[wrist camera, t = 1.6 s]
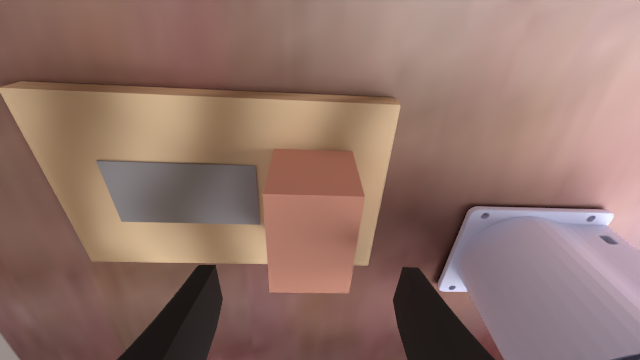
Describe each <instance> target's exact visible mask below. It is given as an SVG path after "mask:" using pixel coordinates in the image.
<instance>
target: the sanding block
mask: <svg viewBox="0 0 640 360" xmlns="http://www.w3.org/2000/svg"><path fill="white" fill-rule="evenodd" d="M364 200H365V195H364V191H363V188H362V184H361V180H360V177H359V173H358V169H357V166H356V162H355V158H354V155H353V151H328V150H299V149H274V151H273V155H272V159H271V163H270V167H269V171H268V175H267V179H266V183H265V187H264V191H263V206H264V220H265V235H266V249H267V264H268V278H269V292H276V293H349V290H350V284H351V278H352V272H353V266H354V260H355V254H356V248H357V242H358V236H359V230H360V224H361V218H362V212H363V206H364Z"/></svg>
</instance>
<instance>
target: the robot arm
mask: <svg viewBox="0 0 640 360" xmlns="http://www.w3.org/2000/svg"><path fill="white" fill-rule="evenodd" d="M484 213H485V214H484ZM482 214H484V215H482ZM613 217H614V214H613V213H611V212H610V211H609V210H601V209H563V208H524V207H485V206H476V207H472V208H471V209H469V210H468V212H467V214H466V216H465V219H464V221H463V224H462V226H461V229H460V231H459V233H458V236H457V238H456V241H455V243H454V245H453V248H452V250H451V253H450V255H449V257H448V260H447V262H446V265H445V267H444V269H443V272H442V274H441V277H440V279H439V282H438V285H437V286H438V288H439V290H441V291H450V292H468V293H469V295H470V297H471V299H472V301H473V303H474V305H475V306H476V308H477V310H478V312H479V314H480V316H481V318H482V320H483V321H484V323H485V325H486V327H487V329H488V331H489V333H490V334H491V336H492V338H493V340H494V342H495V344H496V346H497V347H498V349H499V351H500V353H501V355H502V357H503V359H504V360H640V251H639V250H638V249H637V248H635V247H634V246H633V245H631V244H630V243H629V242H627V241H626V240H625V239H623V238H622V237H621V236H619V235H618V234H617V233H616V232H614V231H613V230H612V229H610V228H609V227H608V224H609V223H610V222H611V220H612V219H613ZM222 300H223V298H222V293H221V289H220V284H219V279H218V275H217V270H216V265H199V266H197V267H196V269H195V270H194V271H193V273H192V274H191V275H190V276H189V278H188V279H187V280H186V282H185V283H184V284H183V285H182V287H181V288H180V289H179V291H178V292H177V293H176V294H175V295H174V297H173V298H172V299H171V300H170V302H169V303H168V304H167V305H166V306H165V308H164V309H163V310H162V311H161V312H160V313H159V315H158V316H157V317H156V318H155V319H154V320H153V322H152V323H151V324H150V325H149V326H148V327H147V328H146V329H145V330H144V332H143V333H142V334H141V335H140V336H139V337H138V338H137V339H136V340H135V341H134V342H133V344H132V345H131V346H130V347H129V348H128V349H127V350H126V351H125V352H124V353H123V354H122V355H121V356H120V357H119V358H118V359H117V360H206V359H207V356H208V353H209V350H210V346H211V343H212V340H213V337H214V334H215V331H216V328H217V324H218V319H219V315H220V310H221V305H222ZM393 303H394V309H395V315H396V320H397V325H398V329H399V332H400V336H401V339H402V343H403V346H404V349H405V353H406V356H407V359H408V360H495V359H494V358H493V357H492V356H491V355H490V354H489V353H488V351H487V350H486V349H485V348H484V347H483V346H482V345H481V344H480V343H479V342H478V341H477V339H476V338H475V337H474V336H473V335H472V334H471V333H470V332H469V330H468V329H467V328H466V327H465V326H464V325H463V323H462V322H461V321H460V320H459V319H458V317H457V316H456V315H455V314H454V313H453V311H452V310H451V309H450V308H449V306H448V305H447V304H446V303H445V301H444V300H443V299H442V298H441V296H440V295H439V294H438V293H437V291H436V290H435V289H434V287H433V286H432V285H431V283H430V282H429V281H428V279H427V278H426V277H425V275H424V274H423V273H422V272H421V270H420V269H419V268H412V267H403V268H402V272H401V275H400V278H399V282H398V285H397V288H396V292H395V295H394V298H393Z"/></svg>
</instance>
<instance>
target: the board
mask: <svg viewBox="0 0 640 360" xmlns="http://www.w3.org/2000/svg"><path fill="white" fill-rule="evenodd" d="M0 93H1V95H2V97H3V99H4V100H5V102H6V104H7V106H8V108H9V110H10V112H11V113H12V115H13V117H14V119H15V121H16V123H17V124H18V126H19V128H20V130H21V132H22V134H23V135H24V137H25V139H26V141H27V143H28V145H29V147H30V148H31V150H32V152H33V154H34V156H35V158H36V159H37V161H38V163H39V165H40V167H41V169H42V170H43V172H44V174H45V176H46V178H47V180H48V182H49V183H50V185H51V187H52V189H53V191H54V193H55V194H56V196H57V198H58V200H59V202H60V204H61V205H62V207H63V209H64V211H65V213H66V215H67V217H68V218H69V220H70V222H71V224H72V226H73V228H74V229H75V231H76V233H77V235H78V237H79V239H80V241H81V242H82V244H83V246H84V248H85V250H86V252H87V253H88V255H89V257H90V259H91V261H105V262H170V263H236V264H267V249H266V235H265V220H264V206H263V191H264V187H265V183H266V179H267V175H268V171H269V167H270V163H271V159H272V155H273V151H274V149H299V150H328V151H353V155H354V158H355V162H356V166H357V169H358V173H359V177H360V180H361V184H362V188H363V191H364V195H365V200H364V206H363V212H362V218H361V224H360V230H359V236H358V242H357V248H356V254H355V260H354V265H366V266H368V263H369V258H370V253H371V248H372V243H373V239H374V234H375V229H376V224H377V219H378V214H379V209H380V204H381V199H382V195H383V190H384V185H385V180H386V175H387V170H388V165H389V160H390V155H391V150H392V146H393V141H394V136H395V131H396V126H397V121H398V116H399V111H400V106H401V105H400V103H399V102H398V101H397V100H396V99H395V98H391V97H369V96H346V95H323V94H301V93H278V92H255V91H233V90H210V89H187V88H165V87H142V86H119V85H97V84H74V83H51V82H28V81H20V82H16V83H13V84H9V85H5V86H2V87H0Z"/></svg>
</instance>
